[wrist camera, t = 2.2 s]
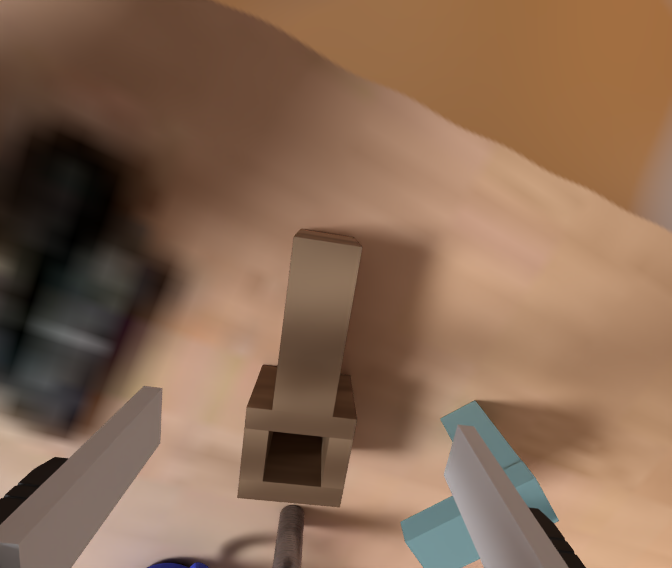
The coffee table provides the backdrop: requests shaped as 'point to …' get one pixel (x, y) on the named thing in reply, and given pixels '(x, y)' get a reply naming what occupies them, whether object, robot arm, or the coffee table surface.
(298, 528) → the rod
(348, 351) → the coffee table surface
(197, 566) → the mug
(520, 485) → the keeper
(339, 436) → the link
